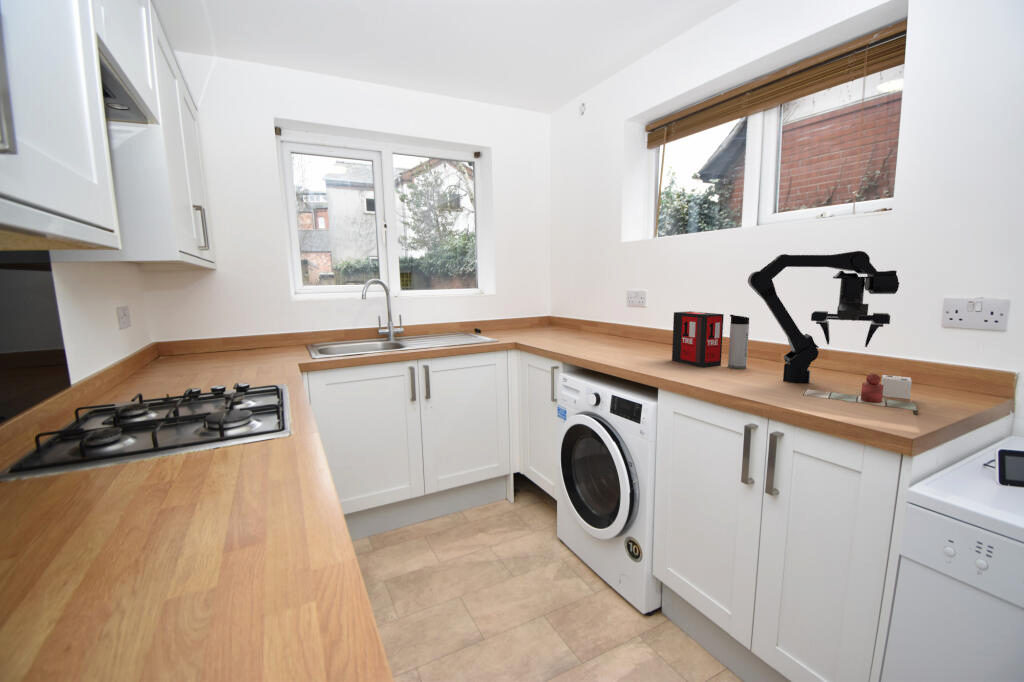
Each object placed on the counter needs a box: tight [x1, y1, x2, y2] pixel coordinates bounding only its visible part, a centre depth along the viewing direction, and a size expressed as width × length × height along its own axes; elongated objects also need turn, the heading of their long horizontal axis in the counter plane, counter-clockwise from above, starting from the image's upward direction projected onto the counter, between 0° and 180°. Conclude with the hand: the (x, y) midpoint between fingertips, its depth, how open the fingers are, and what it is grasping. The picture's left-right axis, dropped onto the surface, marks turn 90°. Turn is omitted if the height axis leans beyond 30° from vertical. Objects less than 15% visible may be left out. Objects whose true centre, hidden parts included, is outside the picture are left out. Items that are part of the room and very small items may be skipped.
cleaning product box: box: [671, 311, 725, 369], centre depth 176 cm, size 16×9×20 cm, turn 24°
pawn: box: [860, 373, 884, 403], centre depth 118 cm, size 4×4×7 cm
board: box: [802, 388, 919, 416], centre depth 120 cm, size 24×9×1 cm, turn 51°
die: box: [881, 374, 913, 400], centre depth 123 cm, size 6×6×6 cm
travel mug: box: [727, 314, 750, 370], centre depth 167 cm, size 6×7×20 cm
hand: (846, 345), depth 135 cm, fingers open, 9 cm apart
